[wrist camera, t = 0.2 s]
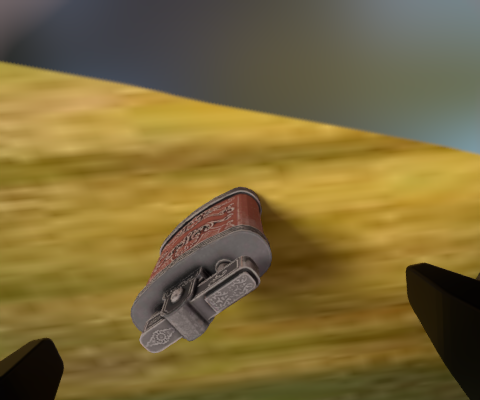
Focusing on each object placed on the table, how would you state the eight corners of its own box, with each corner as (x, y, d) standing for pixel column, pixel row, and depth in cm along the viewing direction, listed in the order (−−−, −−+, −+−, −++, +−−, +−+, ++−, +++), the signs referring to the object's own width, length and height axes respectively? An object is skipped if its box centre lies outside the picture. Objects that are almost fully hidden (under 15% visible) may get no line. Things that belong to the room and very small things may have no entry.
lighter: (182, 275, 24) (148, 392, 15) (151, 242, 24) (94, 343, 14) (271, 213, 23) (295, 298, 13) (241, 175, 22) (245, 237, 13)
